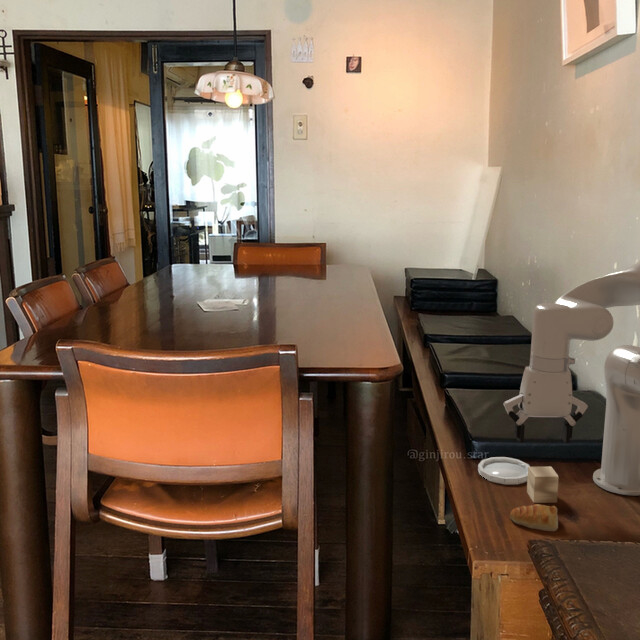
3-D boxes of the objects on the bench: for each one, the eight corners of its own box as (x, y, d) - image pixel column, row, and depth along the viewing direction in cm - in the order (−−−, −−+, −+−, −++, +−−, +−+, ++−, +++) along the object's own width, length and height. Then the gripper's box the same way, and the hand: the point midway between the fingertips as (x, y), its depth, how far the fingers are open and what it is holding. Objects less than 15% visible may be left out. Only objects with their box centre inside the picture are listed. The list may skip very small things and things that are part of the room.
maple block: (549, 491, 152) (551, 466, 151) (557, 502, 147) (558, 476, 146) (526, 492, 152) (528, 466, 151) (533, 502, 147) (534, 476, 146)
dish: (523, 462, 167) (523, 456, 167) (538, 484, 155) (538, 478, 155) (473, 462, 167) (473, 457, 167) (484, 484, 156) (484, 479, 155)
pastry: (509, 528, 137) (510, 510, 137) (509, 512, 144) (510, 495, 143) (559, 534, 135) (560, 516, 134) (557, 517, 141) (558, 500, 141)
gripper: (584, 358, 147) (577, 434, 150) (502, 357, 147) (497, 433, 150) (597, 368, 139) (589, 448, 143) (511, 367, 139) (506, 447, 143)
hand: (542, 440), depth 147 cm, fingers open, 9 cm apart
